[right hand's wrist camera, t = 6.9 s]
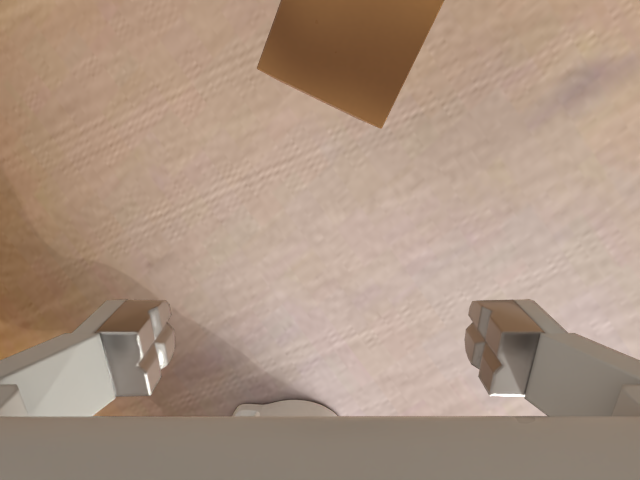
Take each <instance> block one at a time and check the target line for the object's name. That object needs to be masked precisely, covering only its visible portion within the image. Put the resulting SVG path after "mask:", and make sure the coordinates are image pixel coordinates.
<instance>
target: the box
mask: <svg viewBox="0 0 640 480" xmlns="http://www.w3.org/2000/svg"><path fill="white" fill-rule="evenodd" d="M443 2H444V0H281V2H280V5H279V8H278V10H277V13H276V16H275V19H274V22H273V24H272V27H271V30H270V33H269V35H268V38H267V41H266V44H265V47H264V49H263V52H262V55H261V58H260V61H259V63H258V66H257V69H258V70H260V71H262V72H264V73H266V74H267V75H269V76H271V77H273V78H275V79H277V80H278V81H280V82H283V83H285V84H287V85H289V86H291V87H293V88H295V89H297V90H299V91H301V92H303V93H305V94H307V95H309V96H312V97H314V98H316V99H318V100H320V101H322V102H324V103H326V104H328V105H330V106H332V107H334V108H336V109H338V110H341V111H343V112H345V113H347V114H349V115H351V116H353V117H355V118H357V119H359V120H362V121H364V122H366V123H369V124H371V125H373V126H376V127H378V128H382V127H383V125H384V123H385V121H386V119H387V117H388V115H389V112H390V110H391V108H392V106H393V104H394V102H395V100H396V98H397V96H398V94H399V92H400V90H401V88H402V86H403V84H404V82H405V80H406V78H407V76H408V74H409V72H410V70H411V67H412V65H413V63H414V61H415V59H416V57H417V55H418V53H419V51H420V49H421V47H422V45H423V43H424V41H425V39H426V37H427V35H428V33H429V31H430V29H431V27H432V25H433V22H434V20H435V18H436V16H437V14H438V12H439V10H440V8H441V6H442V4H443Z"/></svg>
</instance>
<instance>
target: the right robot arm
mask: <svg viewBox="0 0 640 480" xmlns="http://www.w3.org/2000/svg"><path fill="white" fill-rule="evenodd" d="M171 315H172V314H171V309H170V304H169V303H168V302H167V301H166V300H128V299H121V300H107V301H105V302H104V303H103V304H102V305H101V306H100V307H99V308H98V309H97V310H96V311H95V312H94V313H93V314H92V315H90V316H89V317H88V318H87V319H86V320H85V321H84V322H83V323H82V324H81V325H80V326H79V327H78V328H77V329H75V330H74V331H73V332H72V333H65V334H62V335H60V336H58V337H55V338H53V339H50V340H48V341H46V342H43V343H41V344H38V345H36V346H34V347H31V348H29V349H26V350H24V351H22V352H19V353H17V354H15V355H12V356H10V357H7V358H5V359H3V360H0V480H640V360H637V359H635V358H633V357H630V356H628V355H625V354H623V353H621V352H618V351H616V350H613V349H611V348H609V347H606V346H604V345H602V344H599V343H597V342H594V341H592V340H590V339H587V338H585V337H582V336H580V335H578V334H575V333H568V332H567V331H566V330H565V329H564V328H562V327H561V326H560V325H559V324H558V323H557V322H556V321H555V320H554V319H553V318H552V317H551V316H550V315H549V314H547V313H546V312H545V311H544V310H543V309H542V308H541V307H540V306H539V305H538V304H537V303H536V302H535V301H533V300H530V299H523V300H484V301H472V303H471V305H470V308H469V314H468V315H469V317H470V318H471V320H472V321H473V323H472V324H471V325H470V326H469V327H468V328H467V329H466V333H465V350H466V353H467V356H468V359H469V361H470V363H471V364H472V365H473V366H475V367H476V368H478V369H479V376H478V377H479V378H480V380H481V382H482V384H483V385H484V387H485V389H486V390H487V392H488V394H489V396H519V397H525V399H526V400H527V401H529V402H530V403H531V404H533V405H534V406H535V407H537V408H538V409H539V410H541V411H542V412H543V413H545V414H546V415H547V416H337V415H336V414H335V413H334V412H333V411H331V410H330V409H328V408H326V407H324V406H322V405H320V404H317V403H314V402H310V401H305V400H283V401H278V402H274V403H270V404H264V405H261V404H241V405H239V406H238V407H237V408H236V410H235V412H234V413H233V415H232V416H93V415H94V414H96V413H97V412H98V411H100V410H101V409H102V408H103V407H105V406H106V405H107V404H109V403H110V402H111V401H113V400H114V399H115V397H121V396H151V394H152V392H153V391H154V389H155V387H156V385H157V384H158V382H159V380H160V378H161V377H162V376H161V369H162V368H164V367H165V366H167V365H168V364H169V362H170V361H171V359H172V357H173V353H174V349H175V332H174V329H173V328H172V327H171V326H170V325H169V324H168V323H167V321H168V320H169V318H170V317H171Z"/></svg>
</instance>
